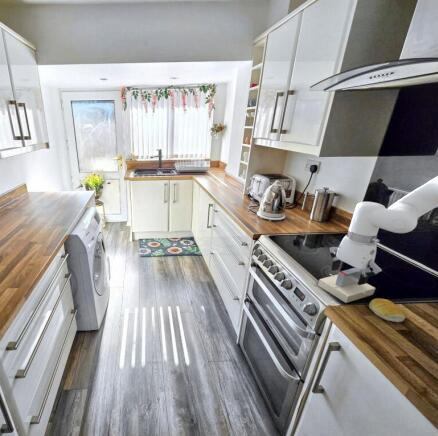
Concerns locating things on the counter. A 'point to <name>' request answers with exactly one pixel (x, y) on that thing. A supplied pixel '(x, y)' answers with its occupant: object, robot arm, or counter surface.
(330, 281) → the cream flat tabbed slab
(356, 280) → the grey rectangular block
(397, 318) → the bread roll
